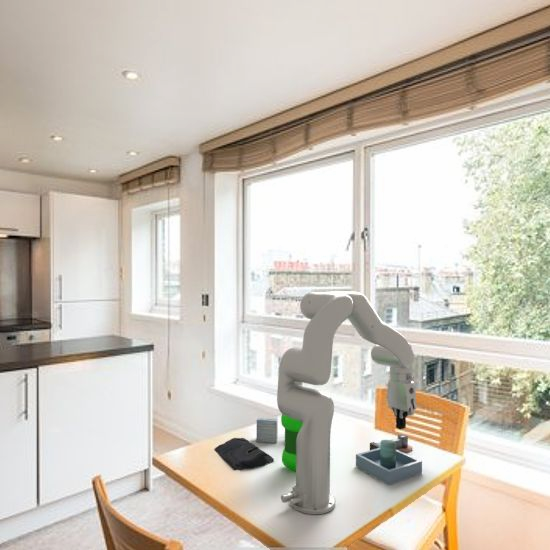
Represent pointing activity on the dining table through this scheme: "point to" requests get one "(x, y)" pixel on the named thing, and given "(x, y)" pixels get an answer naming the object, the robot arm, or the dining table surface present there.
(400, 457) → the tray
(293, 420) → the plastic bottle
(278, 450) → the dining table surface
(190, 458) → the dining table surface
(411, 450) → the crank base
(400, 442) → the crank lever
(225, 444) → the dark slate chunk
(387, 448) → the teal cylinder
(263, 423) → the medicine box
